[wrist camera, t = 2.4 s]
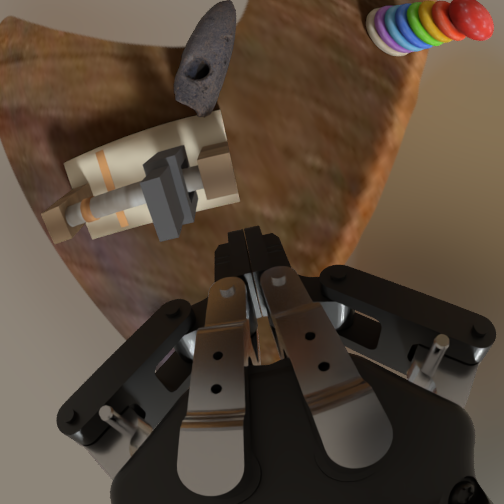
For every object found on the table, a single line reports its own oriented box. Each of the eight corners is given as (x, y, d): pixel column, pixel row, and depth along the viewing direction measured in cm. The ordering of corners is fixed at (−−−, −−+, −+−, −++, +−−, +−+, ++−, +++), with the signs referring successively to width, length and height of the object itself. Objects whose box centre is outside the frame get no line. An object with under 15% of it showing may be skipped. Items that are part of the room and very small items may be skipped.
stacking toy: (387, 65, 27) (491, 64, 11) (352, 20, 23) (447, -14, 7) (416, 44, 25) (513, 42, 9) (385, 2, 21) (476, -24, 5)
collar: (157, 152, 27) (128, 176, 18) (184, 144, 27) (166, 165, 18) (173, 204, 30) (155, 251, 21) (198, 198, 30) (189, 243, 21)
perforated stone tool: (208, 5, 22) (206, -17, 16) (249, 14, 23) (257, -6, 17) (171, 109, 28) (159, 110, 23) (212, 118, 30) (210, 121, 24)
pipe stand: (67, 161, 29) (29, 182, 21) (220, 109, 29) (220, 110, 21) (95, 235, 35) (68, 272, 27) (239, 198, 35) (246, 230, 27)
